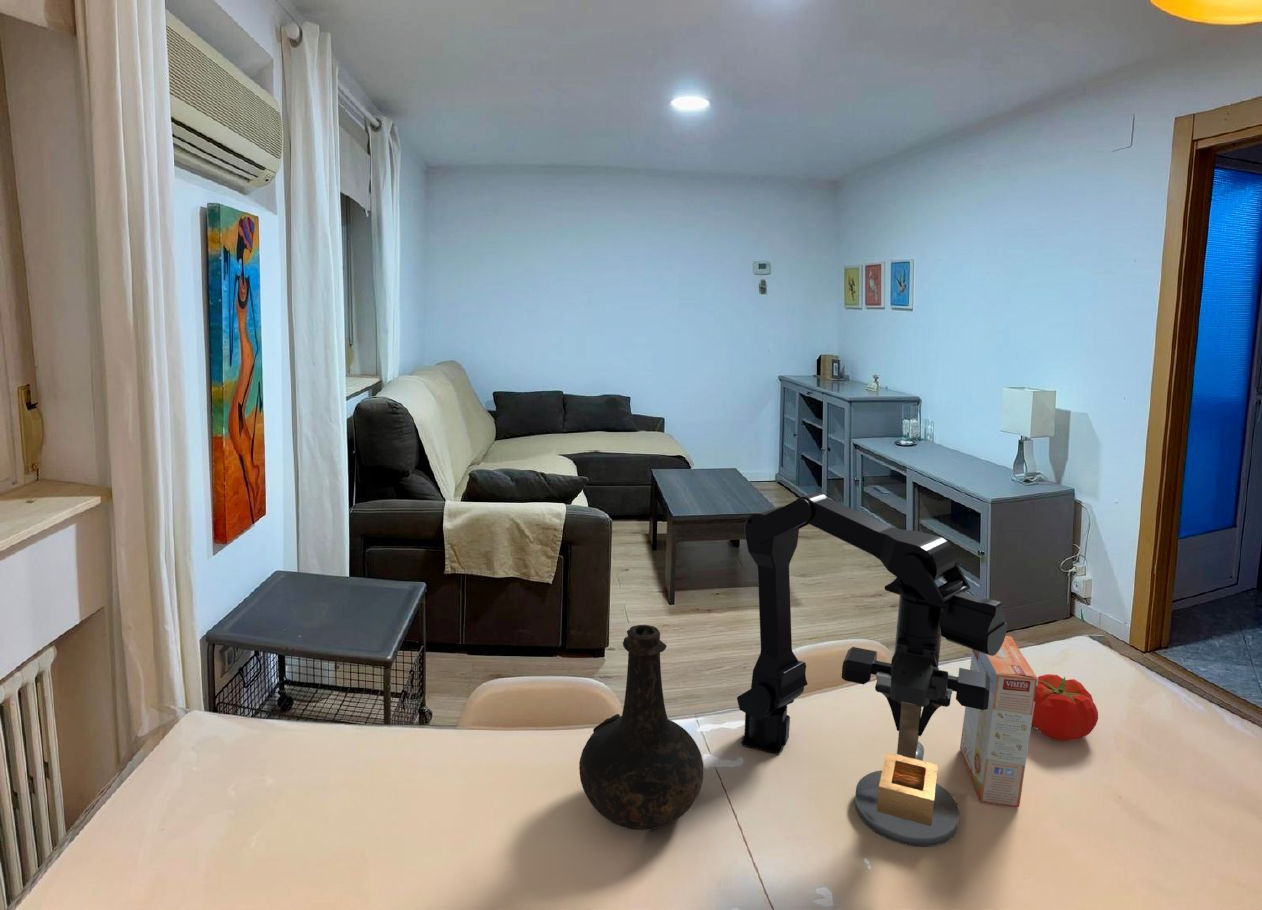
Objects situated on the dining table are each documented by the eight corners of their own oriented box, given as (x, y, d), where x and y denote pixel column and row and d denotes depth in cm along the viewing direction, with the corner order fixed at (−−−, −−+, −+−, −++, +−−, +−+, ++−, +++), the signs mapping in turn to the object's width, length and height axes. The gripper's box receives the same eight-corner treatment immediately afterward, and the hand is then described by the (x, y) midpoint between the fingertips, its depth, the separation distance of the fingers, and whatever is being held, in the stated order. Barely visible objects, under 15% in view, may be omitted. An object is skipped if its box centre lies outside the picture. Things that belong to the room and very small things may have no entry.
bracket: (847, 828, 108) (850, 790, 107) (865, 759, 124) (868, 726, 122) (955, 858, 103) (960, 819, 101) (960, 783, 118) (964, 748, 117)
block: (896, 754, 108) (901, 701, 106) (900, 739, 111) (904, 688, 109) (915, 758, 107) (920, 705, 105) (917, 743, 110) (923, 692, 108)
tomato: (1019, 702, 141) (1025, 659, 140) (1098, 725, 134) (1105, 680, 132) (1005, 734, 131) (1011, 688, 129) (1089, 760, 124) (1097, 712, 122)
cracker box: (1022, 809, 113) (1040, 678, 108) (978, 803, 114) (994, 673, 109) (998, 753, 126) (1013, 634, 121) (958, 748, 127) (972, 630, 123)
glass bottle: (640, 754, 125) (642, 591, 118) (728, 808, 112) (735, 629, 106) (553, 805, 112) (551, 627, 106) (641, 872, 100) (644, 674, 94)
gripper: (837, 639, 102) (830, 745, 105) (994, 669, 94) (980, 783, 97) (852, 607, 112) (845, 706, 115) (995, 633, 104) (982, 737, 107)
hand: (909, 732), depth 108 cm, fingers closed on block, 2 cm apart
